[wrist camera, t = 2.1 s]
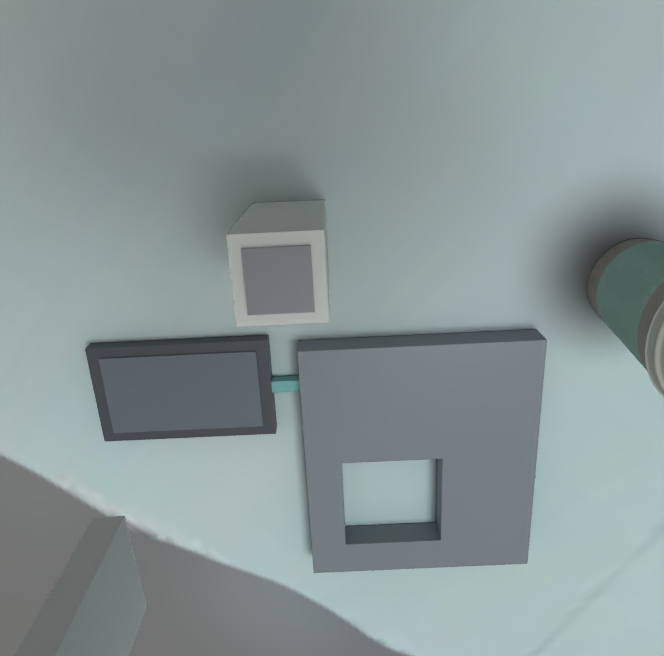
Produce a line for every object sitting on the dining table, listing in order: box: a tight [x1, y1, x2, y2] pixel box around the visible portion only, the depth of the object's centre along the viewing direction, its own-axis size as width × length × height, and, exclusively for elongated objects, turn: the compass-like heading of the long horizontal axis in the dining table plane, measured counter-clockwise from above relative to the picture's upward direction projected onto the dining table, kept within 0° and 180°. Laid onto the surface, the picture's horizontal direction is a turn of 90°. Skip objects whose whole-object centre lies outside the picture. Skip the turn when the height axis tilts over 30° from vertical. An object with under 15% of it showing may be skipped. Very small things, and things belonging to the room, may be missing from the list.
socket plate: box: [297, 329, 547, 573], centre depth 41 cm, size 18×16×2 cm
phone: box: [85, 335, 300, 441], centre depth 39 cm, size 7×20×1 cm, turn 93°
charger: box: [226, 200, 329, 327], centre depth 32 cm, size 4×4×10 cm
